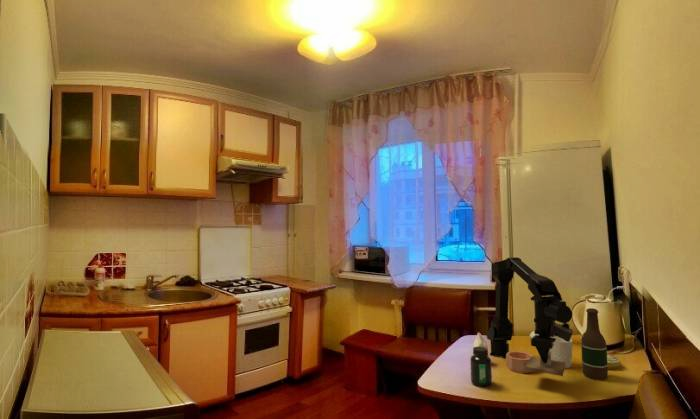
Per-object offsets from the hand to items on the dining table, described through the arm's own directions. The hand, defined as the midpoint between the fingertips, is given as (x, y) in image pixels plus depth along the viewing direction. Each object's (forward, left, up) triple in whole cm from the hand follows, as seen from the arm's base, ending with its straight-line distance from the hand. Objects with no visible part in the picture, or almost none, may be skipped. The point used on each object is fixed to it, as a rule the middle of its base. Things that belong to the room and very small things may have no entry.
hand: (545, 361), depth 130 cm
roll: (-24, +8, -8) cm, 27 cm away
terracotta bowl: (-10, +10, -8) cm, 16 cm away
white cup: (+3, +22, -8) cm, 24 cm away
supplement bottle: (-19, -11, -8) cm, 23 cm away
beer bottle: (+14, +16, -8) cm, 23 cm away
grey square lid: (0, 0, -2) cm, 2 cm away
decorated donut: (+17, +30, -8) cm, 36 cm away
